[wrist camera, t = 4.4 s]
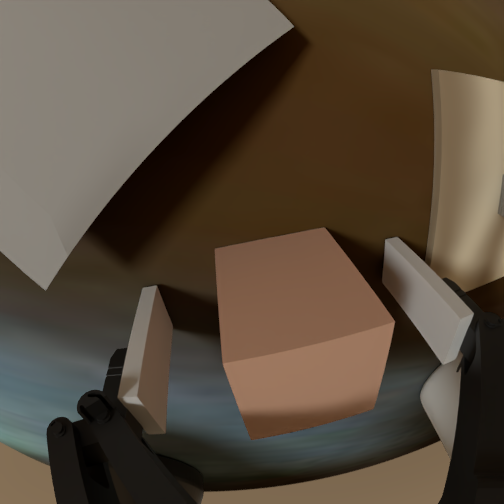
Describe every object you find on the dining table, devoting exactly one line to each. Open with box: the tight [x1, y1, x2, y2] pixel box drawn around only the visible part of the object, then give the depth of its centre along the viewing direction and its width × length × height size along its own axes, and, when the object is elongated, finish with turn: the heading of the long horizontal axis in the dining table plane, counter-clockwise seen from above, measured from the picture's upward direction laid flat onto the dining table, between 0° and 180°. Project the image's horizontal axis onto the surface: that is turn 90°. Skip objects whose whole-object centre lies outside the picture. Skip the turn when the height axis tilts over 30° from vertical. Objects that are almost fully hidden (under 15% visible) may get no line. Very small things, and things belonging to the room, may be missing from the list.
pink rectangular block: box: [215, 227, 395, 440], centre depth 13 cm, size 5×5×7 cm
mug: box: [420, 350, 463, 459], centre depth 19 cm, size 9×12×11 cm
